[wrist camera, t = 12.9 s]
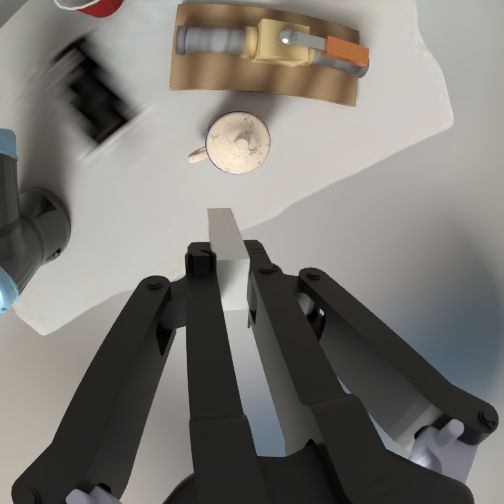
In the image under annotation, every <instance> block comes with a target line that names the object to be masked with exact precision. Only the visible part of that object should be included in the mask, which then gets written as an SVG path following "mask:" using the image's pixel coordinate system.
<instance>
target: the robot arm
mask: <svg viewBox="0 0 504 504" xmlns="http://www.w3.org/2000/svg"><path fill="white" fill-rule="evenodd" d="M17 161H18V157H17V155H16V137H15V134H14V132H13V131H11V130H9V129H0V313H4V312H6V311H7V310H8V309H9V308H10V307H11V305H12V304H13V303H14V302H15V301H16V300H17V299H18V297H19V295H20V294H21V292H22V291H23V289H24V288H25V286H26V285H27V284H28V282H29V281H30V279H31V278H32V276H33V275H34V274H35V272H36V271H37V269H38V268H39V267H40V266H42V265H44V264H46V263H49V262H51V261H53V260H55V259H56V258H57V257H58V256H59V255H60V254H61V253H62V252H63V250H64V249H65V248H66V246H67V244H68V241H69V238H70V221H69V217H68V214H67V211H66V209H65V207H64V205H63V204H62V202H61V201H60V200H59V198H58V197H57V196H56V195H54V194H53V193H52V192H50V191H49V190H46V189H43V188H31V189H28V190H27V191H25V192H23V193H22V194H20V195H18V181H17ZM185 267H186V275H185V276H184V277H183V278H182V279H180V280H178V281H175V282H170V281H169V280H168V279H167V278H166V277H163V276H149V277H147V278H145V279H143V280H142V281H141V282H140V283H139V285H138V286H137V288H136V289H135V291H134V292H133V294H132V296H131V297H130V298H129V300H128V302H127V303H126V305H125V306H124V308H123V310H122V311H121V313H120V314H119V316H118V318H117V319H116V321H115V323H114V324H113V326H112V328H111V329H110V331H109V333H108V334H107V336H106V338H105V339H104V341H103V343H102V345H101V346H100V348H99V350H98V351H97V353H96V355H95V357H94V359H93V360H92V362H91V364H90V366H89V368H88V369H87V371H86V373H85V375H84V377H83V379H82V381H81V383H80V384H79V386H78V388H77V390H76V392H75V394H74V396H73V398H72V400H71V402H70V404H69V406H68V408H67V410H66V413H65V414H64V417H63V419H62V421H61V423H60V425H59V427H58V430H57V432H56V434H55V436H54V439H53V441H52V443H51V444H50V445H49V446H48V447H47V448H46V450H45V451H44V452H43V453H42V454H41V455H40V456H39V457H38V458H37V459H36V460H35V461H34V462H33V463H32V464H31V465H30V466H29V467H28V468H27V469H26V470H25V471H24V473H22V474H21V476H20V477H19V478H18V479H17V480H16V481H15V483H14V484H13V486H12V492H11V495H12V500H13V503H14V504H122V503H121V502H120V501H119V500H120V498H121V496H122V494H123V492H124V490H125V488H126V486H127V484H128V480H129V478H130V475H131V471H132V468H133V464H134V461H135V457H136V454H137V450H138V447H139V443H140V440H141V437H142V433H143V430H144V427H145V424H146V420H147V417H148V414H149V411H150V408H151V405H152V402H153V399H154V395H155V392H156V389H157V386H158V383H159V380H160V377H161V374H162V371H163V369H164V365H165V363H166V360H167V357H168V354H169V351H170V349H171V346H172V343H173V340H174V337H175V335H176V329H177V328H180V327H184V326H186V350H187V374H188V392H189V407H190V421H189V430H190V441H191V451H192V460H193V468H194V473H192V474H191V475H189V476H188V477H186V478H185V479H184V480H182V481H181V482H180V483H179V484H178V485H177V486H176V487H175V489H174V490H173V491H172V492H171V494H170V495H169V496H168V497H167V499H166V500H165V501H164V502H163V504H474V498H473V495H472V492H471V491H470V489H469V488H468V487H467V486H466V485H465V482H466V479H467V477H468V474H469V472H470V469H471V466H472V463H473V460H474V457H475V454H476V451H477V447H478V445H479V444H480V443H481V442H482V441H483V440H484V439H485V438H487V437H488V436H489V435H490V434H491V433H492V432H494V430H495V429H496V428H497V426H498V414H497V411H496V410H495V409H494V407H493V406H492V405H490V404H489V403H486V402H485V401H483V400H481V399H479V398H477V397H475V396H473V395H471V394H469V393H467V392H466V391H463V390H462V389H459V388H458V387H456V386H454V385H452V384H451V383H450V382H449V381H448V380H447V379H445V378H444V377H443V376H442V375H441V374H440V373H439V372H438V371H437V370H436V369H435V368H434V367H433V366H431V365H430V364H429V363H428V362H427V361H426V360H425V359H424V358H423V357H422V356H420V355H419V354H418V353H417V352H416V351H415V350H414V349H413V348H412V347H411V346H409V345H408V344H407V343H406V342H405V341H404V340H403V339H402V338H400V337H399V336H398V335H397V334H396V333H395V332H394V331H393V330H391V329H390V328H389V327H388V326H387V325H386V324H385V323H383V322H382V321H381V320H380V319H379V318H378V317H376V316H375V315H374V314H373V313H372V312H371V311H370V310H369V309H367V308H366V307H365V306H364V305H363V304H362V303H360V302H359V301H358V300H357V299H356V298H355V297H353V296H352V295H351V294H350V293H349V292H348V291H346V290H345V289H344V288H343V287H342V286H340V285H339V284H338V283H337V282H336V281H335V280H333V279H332V278H331V277H330V276H329V275H327V274H326V273H325V272H323V271H322V270H319V269H317V268H311V267H310V268H304V269H301V270H300V272H299V276H293V275H286V274H283V272H282V270H281V269H280V268H279V266H277V265H275V264H273V263H271V261H270V259H269V257H268V255H267V254H266V251H265V249H264V247H263V245H262V244H261V243H260V242H259V241H257V240H242V237H241V234H240V231H239V229H238V226H237V223H236V221H235V218H234V215H233V213H232V210H231V208H214V209H207V242H192V243H191V244H190V245H189V246H188V251H187V253H186V255H185ZM247 301H248V305H249V316H248V328H250V324H251V327H252V330H253V334H254V337H255V340H256V344H257V348H258V351H259V355H260V358H261V362H262V365H263V369H264V372H265V375H266V379H267V382H268V386H269V389H270V392H271V396H272V399H273V403H274V406H275V409H276V412H277V416H278V419H279V422H280V426H281V429H282V432H283V436H284V439H285V452H286V457H264V456H257V454H256V450H255V446H254V442H253V438H252V434H251V429H250V425H249V422H248V419H247V416H245V415H244V413H243V409H242V404H241V399H240V395H239V390H238V386H237V380H236V376H235V371H234V366H233V361H232V356H231V351H230V346H229V341H228V335H227V329H226V324H225V318H224V313H223V311H228V310H243V309H247ZM320 309H321V310H322V311H323V312H324V316H323V315H321V314H320V313H319V312H320ZM337 377H338V378H339V379H340V380H341V382H342V383H343V384H344V385H345V386H346V387H347V389H348V390H349V391H350V392H351V393H352V394H347V393H345V391H344V390H343V388H342V386H341V384H340V382H339V381H338V378H337ZM367 412H368V413H369V414H370V415H371V416H372V417H373V419H374V420H375V421H376V422H377V423H378V424H379V425H380V427H382V429H383V430H384V431H385V432H386V433H387V434H388V435H389V436H390V437H391V438H392V439H393V440H394V441H395V442H396V443H397V444H398V445H400V446H401V447H402V448H403V449H405V450H407V451H408V452H410V453H411V455H410V457H409V459H406V458H404V457H402V456H400V455H397V454H395V453H393V452H391V451H389V450H387V449H386V448H385V446H384V444H383V442H382V440H381V438H380V436H379V434H378V432H377V430H376V429H375V426H374V424H373V422H372V421H371V419H370V417H369V415H368V413H367Z"/></svg>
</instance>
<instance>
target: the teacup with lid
mask: <svg viewBox="0 0 504 504" xmlns="http://www.w3.org/2000/svg"><path fill="white" fill-rule="evenodd" d="M205 140H206V141H205V147H203V148H200V149H198V150H196V151H194V152H192V153H191V154H190V155H189V156H188V159H189V161H190V162H191V163H194V162H198V161H201V160H203V159H206V158H208V157H209V159H210V160H211V162H212V163H213V164H214V165H215V166H216V167H217V168H219V169H220V170H222V171H224V172H227V173H231V174H244V173H248V172H250V171H253V170H254V169H256V168H257V167H259V166H260V165H261V164H262V163H263V162H264V160H265V159H266V157H267V155H268V153H269V150H270V142H271V141H270V134H269V131H268V129H267V127H266V125H265V124H264V123H263V121H262V120H261V119H259V118H258V117H257V116H255V115H253V114H251V113H248V112H243V111H234V112H229V113H226V114H224V115H222V116H220V117H218V118H217V119H215V120H214V121H213V122H212V123H211V124H210V126H209V127H208V130H207V132H206V138H205Z"/></svg>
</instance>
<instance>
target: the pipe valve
mask: <svg viewBox="0 0 504 504" xmlns="http://www.w3.org/2000/svg"><path fill="white" fill-rule="evenodd" d="M284 29H292V30H294V31H295V32H299V33H304V34H308V35H313V36H317V37H321V38H324V37H326V36H332V37H335V38H338V39H342V40H345V41H348V42H351V43H354V44H357V45H359V31H357V30H354V29H351V28H348V27H345V26H342V25H338V24H335V23H332V22H328V21H324V20H321V19H317V18H313V17H309V16H304V15H300V14H295V13H290V12H284V11H279V10H272V9H266V8H258V7H249V6H239V5H224V4H178V8H177V15H176V23H175V31H174V40H173V50H172V61H171V75H170V90H234V91H251V92H263V93H273V94H282V95H290V96H297V97H304V98H310V99H316V100H322V101H327V102H333V103H337V104H342V105H347V106H356V95H357V80H358V78H361V77H363V76H364V75H365V74H366V73H367V71H368V68H369V58H368V66H362V67H361V66H357V65H354V64H351V63H348V62H344V61H341V60H337V59H334V58H330V57H326V56H322V55H321V51H318V50H313V49H309V48H305V47H300V46H295V45H291V46H285V45H283V44H281V43H280V41H279V40H278V34H279V33H280V32H281V31H282V30H284Z"/></svg>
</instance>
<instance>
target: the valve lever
mask: <svg viewBox="0 0 504 504" xmlns="http://www.w3.org/2000/svg"><path fill="white" fill-rule="evenodd" d="M278 40H279V41H280V43H281V44H283V45H285V46H291V45H295V46H300V47H305V48H309V49H313V50H318V51H321V55H322V56H326V57H330V58H334V59H337V60H341V61H344V62H348V63H351V64H354V65H357V66H361V67H362V66H368V57H369V49H368V48H365V47H362V46H360V45H357V44H354V43H351V42H348V41H345V40H342V39H338V38H335V37H332V36H326V37H324V38H321V37H317V36H313V35H308V34H304V33H299V32H295V31H294V30H292V29H284V30H282V31H281V32H280V33H279V34H278Z"/></svg>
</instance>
